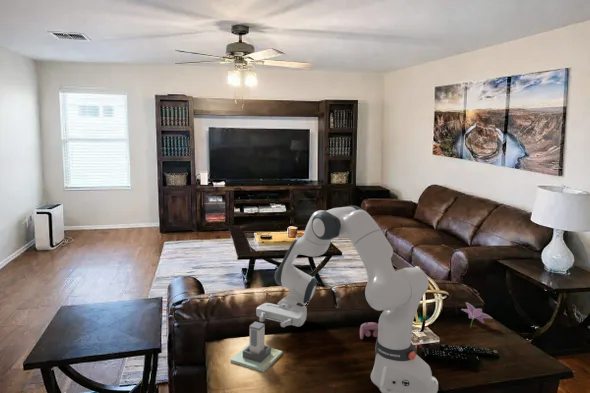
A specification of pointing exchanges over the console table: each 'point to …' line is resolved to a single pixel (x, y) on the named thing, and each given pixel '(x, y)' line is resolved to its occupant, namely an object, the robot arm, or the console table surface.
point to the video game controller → (367, 327)
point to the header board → (257, 358)
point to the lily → (475, 313)
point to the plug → (257, 337)
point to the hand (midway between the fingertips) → (271, 322)
